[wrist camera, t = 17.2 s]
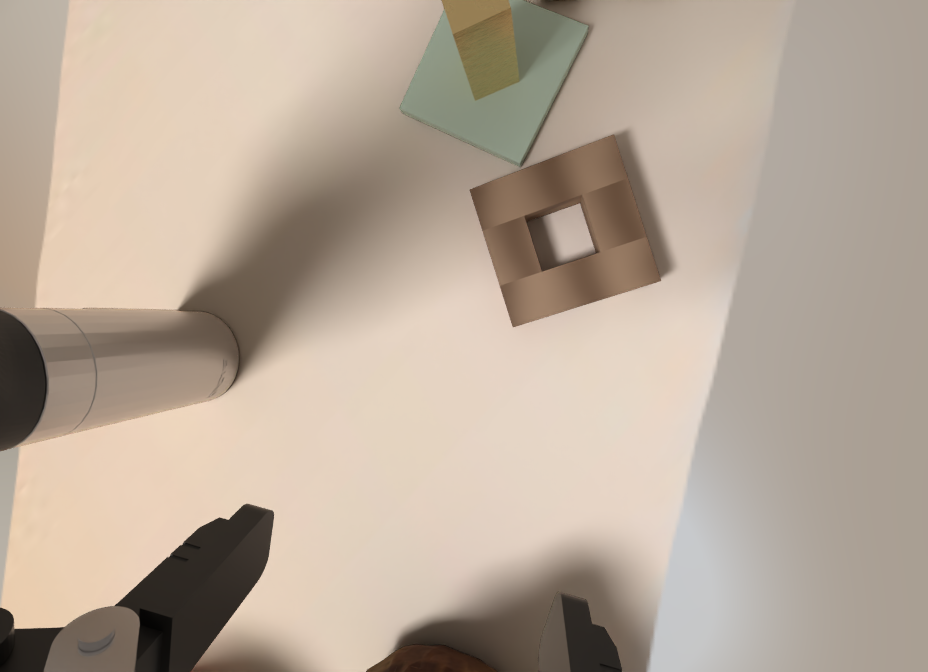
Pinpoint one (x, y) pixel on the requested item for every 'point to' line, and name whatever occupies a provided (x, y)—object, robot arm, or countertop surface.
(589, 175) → the socket base
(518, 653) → the countertop surface
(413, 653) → the ceramic vessel
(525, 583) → the countertop surface
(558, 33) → the mat
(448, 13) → the peg
